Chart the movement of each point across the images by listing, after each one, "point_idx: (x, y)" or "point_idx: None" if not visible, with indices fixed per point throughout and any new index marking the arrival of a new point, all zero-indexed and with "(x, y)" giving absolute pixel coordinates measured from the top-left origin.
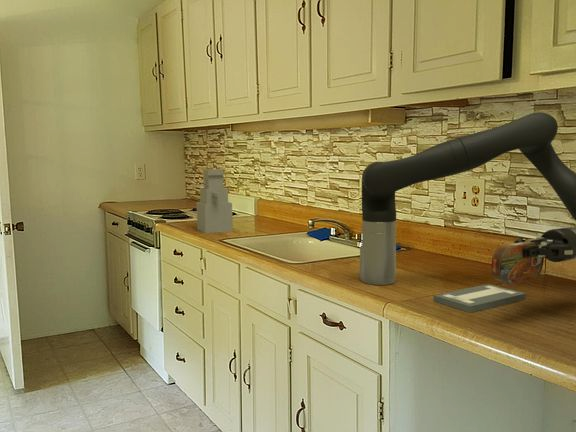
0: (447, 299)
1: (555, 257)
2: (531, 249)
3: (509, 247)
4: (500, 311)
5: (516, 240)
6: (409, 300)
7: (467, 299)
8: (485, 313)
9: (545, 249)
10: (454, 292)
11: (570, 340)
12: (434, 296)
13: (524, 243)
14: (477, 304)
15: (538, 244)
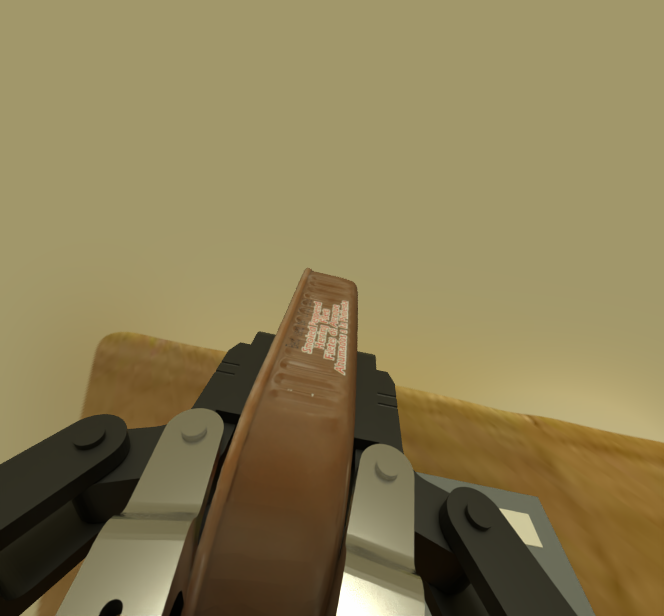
0: (480, 485)
1: (31, 530)
2: (237, 359)
3: (306, 268)
4: None
5: (485, 510)
6: (547, 467)
7: None
8: None
9: (134, 431)
10: (576, 605)
11: None
12: (532, 498)
13: (303, 356)
14: None
15: (219, 482)
